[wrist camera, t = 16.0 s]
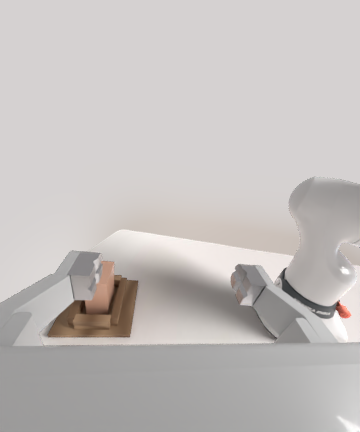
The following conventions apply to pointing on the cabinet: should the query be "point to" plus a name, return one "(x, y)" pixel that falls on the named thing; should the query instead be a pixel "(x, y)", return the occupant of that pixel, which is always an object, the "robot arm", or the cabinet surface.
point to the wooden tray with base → (95, 323)
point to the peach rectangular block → (102, 291)
